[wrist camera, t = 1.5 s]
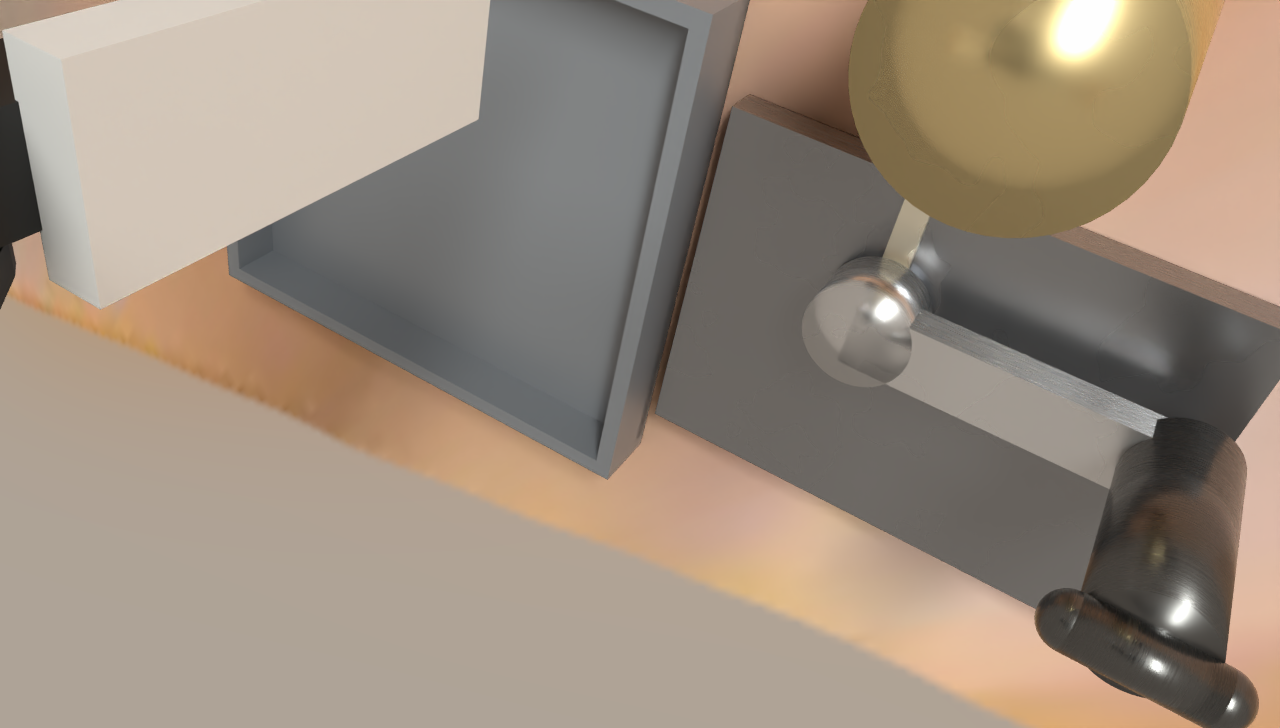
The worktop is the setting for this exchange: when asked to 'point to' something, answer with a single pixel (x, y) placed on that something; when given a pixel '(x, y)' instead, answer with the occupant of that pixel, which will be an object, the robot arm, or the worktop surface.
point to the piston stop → (1023, 103)
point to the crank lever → (1095, 449)
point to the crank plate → (963, 294)
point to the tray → (531, 223)
